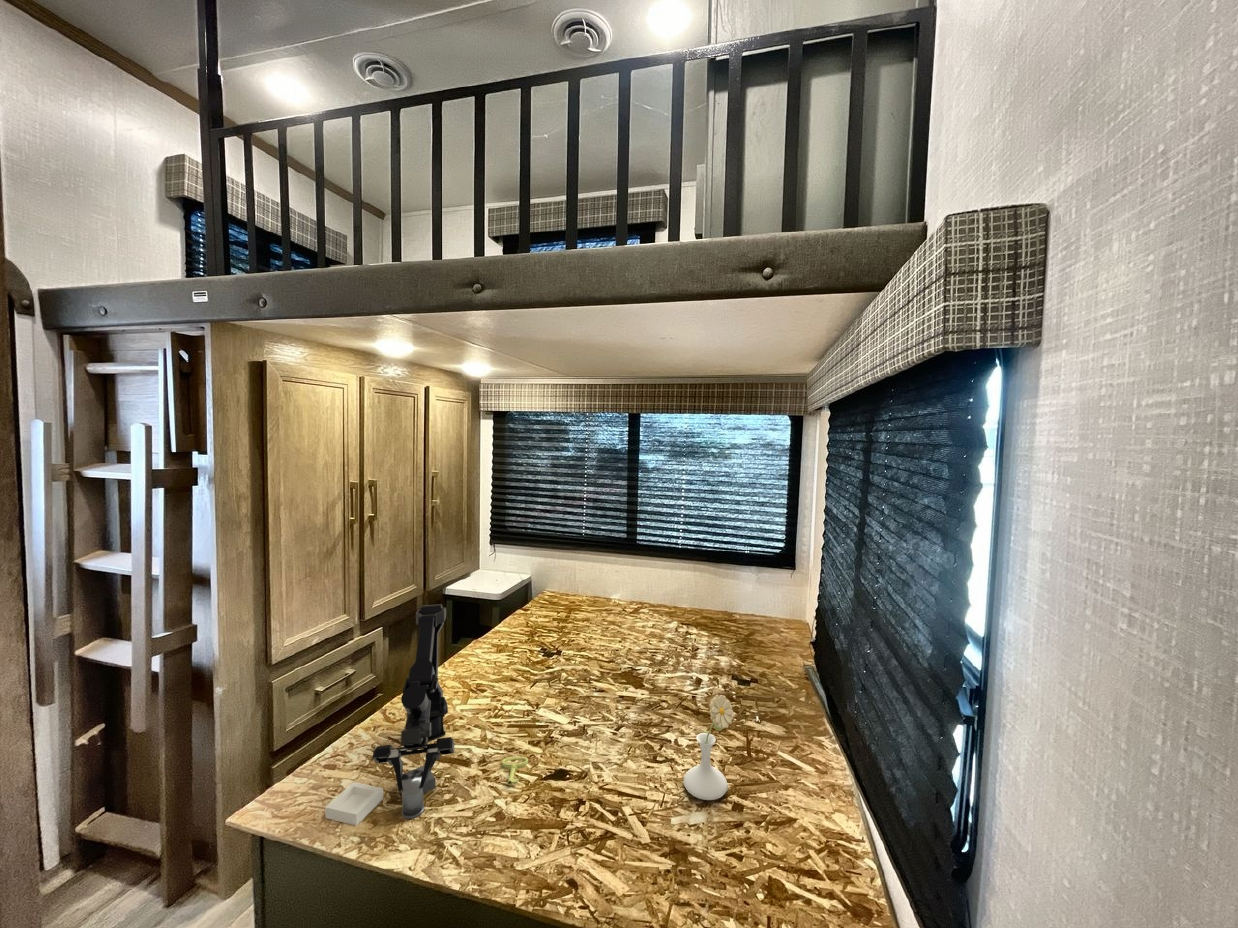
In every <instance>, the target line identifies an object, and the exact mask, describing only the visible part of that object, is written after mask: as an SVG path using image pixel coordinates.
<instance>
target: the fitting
mask: <svg viewBox="0 0 1238 928" xmlns="http://www.w3.org/2000/svg"><path fill="white" fill-rule="evenodd" d="M404 773H405V774H404ZM404 773H403V774H404V775H403V776H402V778H401V782H402V789H401V806H402V808H401V809H402V810H401V817H402V818H403V819H405V820H413V819H416V818H419V817H420V816H421V815H422V814H423V813H424V811H425V804H424V794H423V788H421V786H422V777H423V774H422V772H421V771H420V770H414V769H412V770H409V771H407V772H404Z"/></svg>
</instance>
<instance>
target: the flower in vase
mask: <svg viewBox="0 0 1238 928" xmlns="http://www.w3.org/2000/svg"><path fill="white" fill-rule="evenodd" d="M709 708H710V710H709V713H710V720H711V721H712V722H711V726H710V727H709V730H705V729H701V728H699V731H700V732H701V733H698V734H697V735H696V741H697V742H698V744H699V746H700V747H699V748H700V753H701V758H700V759H701V760H700V764H698V765H695V766H693V767H691V768H689V770H687V771H686V773H685V774H684V777H683V785H684V788H686V790H687V792H688V793H689V794H690V795H692V796H693V797H694V798H697V799H699V800H703V801H714V800H718V799H720V798H722V797H723V796H724V795H725V794H726V793H727V791H728V788H729V785H728V782H727V779H726V776H725V775H724V774H723V773H722V772H721V771H720V770H719V769H718V768H715V766H713V765H712V764H711V751H712V747H713V746H714V744H715V743H716V741H717V739H716V737H715V735H713V734H712V733H711V730H712V728H714V729H715V730H716V731H717V732H721V731H723V730H724V729H728V728H729V726H730V725H731V724H732V723H733V720H734V716H733V715H734V710H733V705H732V704H731V701H730V700H728V699H727V697H726V696H725V695H722V694H720V695H719V694H716V695H715V696H714V697H713V699H712V700H711V701H710V704H709ZM729 724H730V725H729Z"/></svg>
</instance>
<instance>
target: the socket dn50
mask: <svg viewBox="0 0 1238 928" xmlns="http://www.w3.org/2000/svg"><path fill="white" fill-rule="evenodd" d="M383 790H384V788H382V787H379V786H373V785H369V784H365V783H360V782H356V781H355V782H354V781H352V782H351V783H350V784H349V785H348V786H347V787H346V788H345V789H344V790H342V792H341V793H339V794H338V795H337V796H336V797H335V798H334V799H333V800H332V801H330V802H329V803H328V804H327V805H326V806H324V811H325V812H324V814H325V819H327V820H330V821H336V822H340V823H344V824H349V825H353V826H358V825H359V824H360V823H361V822H362V821H363V820H364V819H365V818H366V816H368V815H369V814H370V813H371V812H372V810H374V809H375V808H376V807H377V806H378V805H379V803H381V801H382V800H383V799H384V791H383Z"/></svg>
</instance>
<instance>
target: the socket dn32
mask: <svg viewBox="0 0 1238 928" xmlns="http://www.w3.org/2000/svg"><path fill="white" fill-rule="evenodd" d="M424 766H425V764H424V765H422V766H420V767H416V768H415V769H414V768H413V770H420V771H421V772H422V774H423V771H424ZM405 773H406V772H403V775H404V774H405ZM436 784H437V783H436V777H435V775H434V774H433V772H432V770H431V771H430V773H429V776H428V778H427V781H426V783H425V786H424V788H423V795H424V794H427V793H429V792H430V791H433V790H435V789H436V787H437V786H436Z"/></svg>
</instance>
